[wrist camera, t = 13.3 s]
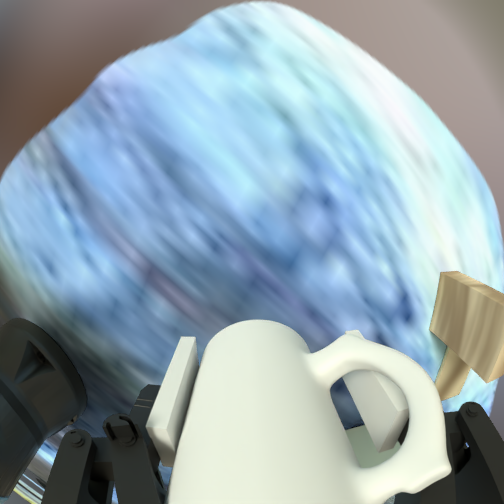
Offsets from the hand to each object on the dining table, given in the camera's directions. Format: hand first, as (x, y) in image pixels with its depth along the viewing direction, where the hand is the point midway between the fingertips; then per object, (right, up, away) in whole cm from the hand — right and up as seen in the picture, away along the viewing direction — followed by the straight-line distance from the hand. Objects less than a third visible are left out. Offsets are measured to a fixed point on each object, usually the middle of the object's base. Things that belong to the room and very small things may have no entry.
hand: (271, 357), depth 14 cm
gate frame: (+22, -8, +10) cm, 25 cm away
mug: (+1, 0, +1) cm, 1 cm away
